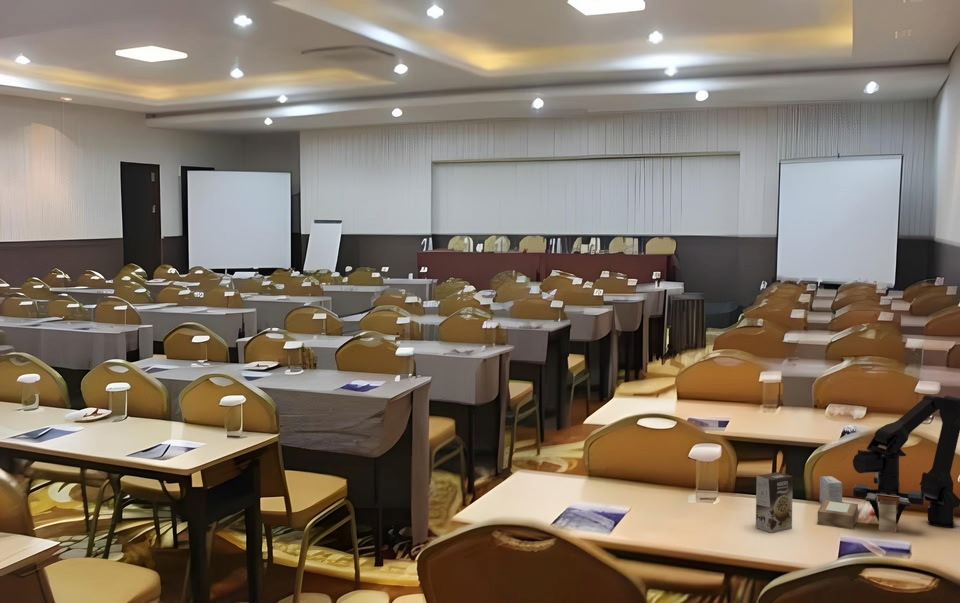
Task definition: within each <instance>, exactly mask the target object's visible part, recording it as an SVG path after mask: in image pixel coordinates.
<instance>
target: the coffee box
mask: <svg viewBox="0 0 960 603" xmlns="http://www.w3.org/2000/svg"><path fill="white" fill-rule="evenodd" d="M793 477H794V476H793V475H789V474H785V473H781V472H776V471H775V472H771V473H764V474H759V475H756V485H755V486H756V491H755V494H756V495H755V528H758V529H761V530H762V531H764V532H766V533H767V532H768V533H770V534H773V533H776V532H782V531H786V530H792V528H793V486H794V485H793V480H794V479H793Z"/></svg>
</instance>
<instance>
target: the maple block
mask: <svg viewBox="0 0 960 603" xmlns="http://www.w3.org/2000/svg"><path fill="white" fill-rule="evenodd" d="M878 505H879V521H878V531H883V532H890V533H896V532H897V526H898V524H896V516H897V510H898V502H897V501H892V500H883V499H880V500H879V502H878Z"/></svg>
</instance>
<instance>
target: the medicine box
mask: <svg viewBox="0 0 960 603" xmlns="http://www.w3.org/2000/svg"><path fill="white" fill-rule="evenodd" d="M823 500H831V501H839V502H843V483H842V482H841V481H840V480H838V479H837V478H835V477H834V476H831V475H830V476H825V475H824V476H820V477H819V502H820V503H821V504H822V502H823Z"/></svg>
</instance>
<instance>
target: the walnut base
mask: <svg viewBox="0 0 960 603" xmlns="http://www.w3.org/2000/svg"><path fill="white" fill-rule="evenodd" d="M858 512H859V503H854V502H845V501H842V502H839V501H831V500H823V502H822V503H821V504H820V505H819V508H818V510H817V525H821V526H829V527H835V528H842V529H843V528H844V529H850V530H854V528H855V525H856V522H857V520H856V518H857V519H858V517H857V514H858V515H859V513H858Z"/></svg>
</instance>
